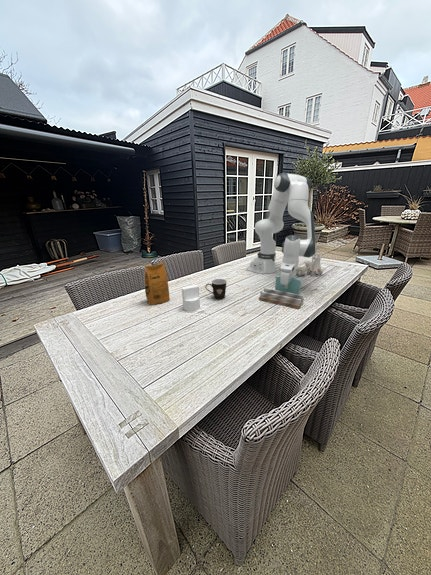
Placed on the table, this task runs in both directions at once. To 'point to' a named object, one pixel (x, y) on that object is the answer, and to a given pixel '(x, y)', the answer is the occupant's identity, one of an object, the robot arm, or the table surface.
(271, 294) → the bottom track
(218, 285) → the coffee mug
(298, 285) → the door panel
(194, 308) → the base with upright slab
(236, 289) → the table surface
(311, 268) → the chinaware
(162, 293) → the coffee package
